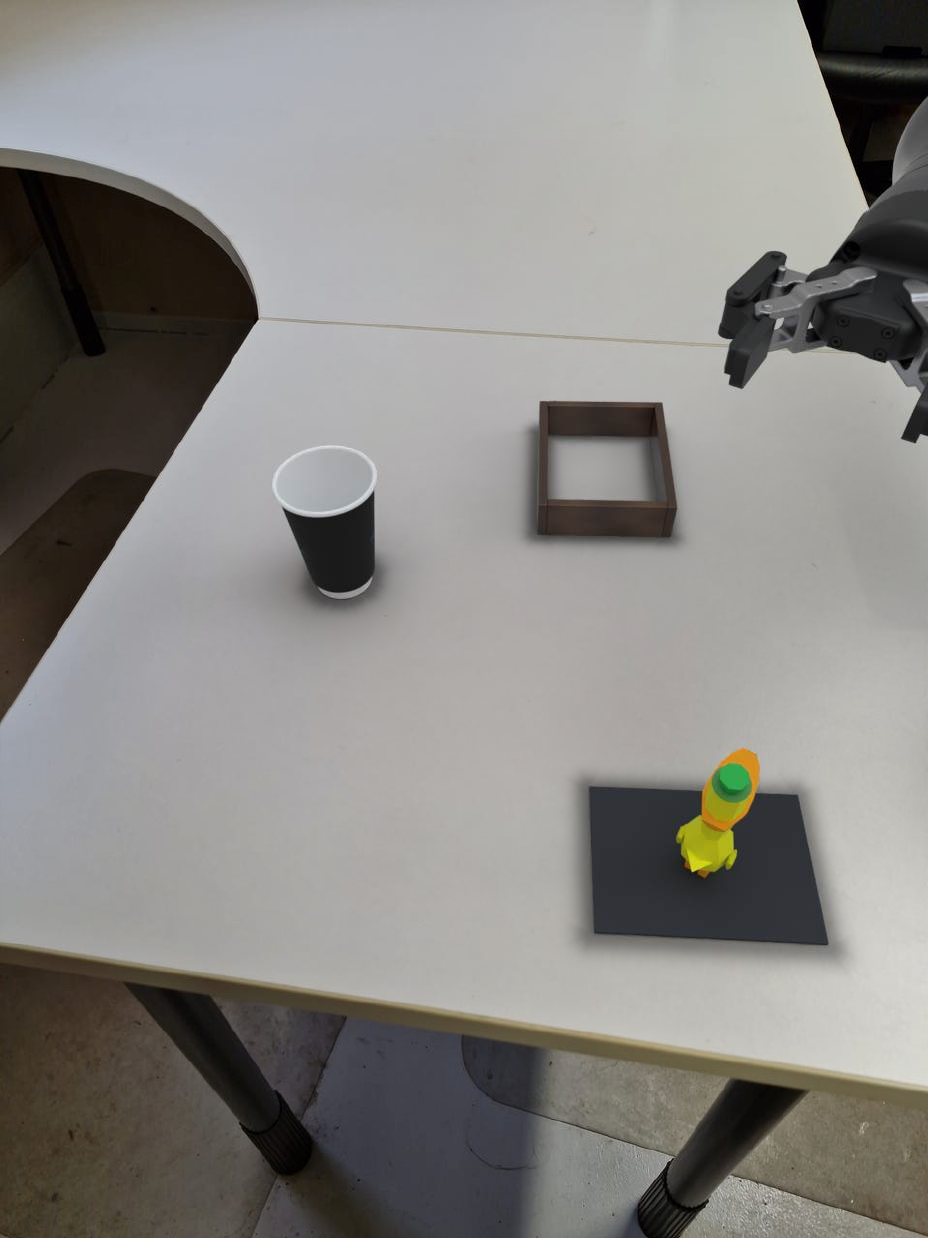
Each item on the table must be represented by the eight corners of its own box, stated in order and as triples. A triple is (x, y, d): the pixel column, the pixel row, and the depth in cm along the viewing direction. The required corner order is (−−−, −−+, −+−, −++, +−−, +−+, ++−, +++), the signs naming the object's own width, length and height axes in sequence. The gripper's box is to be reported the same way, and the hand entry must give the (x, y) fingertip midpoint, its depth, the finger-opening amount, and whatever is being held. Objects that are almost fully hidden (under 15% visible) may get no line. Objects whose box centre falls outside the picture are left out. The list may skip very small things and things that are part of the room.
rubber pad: (796, 796, 58) (798, 794, 58) (827, 945, 52) (828, 943, 51) (589, 788, 59) (589, 786, 59) (594, 933, 53) (594, 931, 52)
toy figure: (696, 804, 58) (734, 704, 48) (747, 830, 56) (796, 732, 47) (654, 886, 54) (686, 795, 45) (707, 916, 53) (751, 828, 44)
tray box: (657, 431, 84) (662, 401, 81) (671, 537, 74) (677, 507, 72) (538, 430, 84) (539, 400, 82) (536, 534, 75) (538, 504, 72)
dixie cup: (410, 572, 73) (399, 472, 64) (343, 628, 69) (322, 530, 60) (345, 531, 76) (325, 431, 68) (278, 582, 72) (248, 483, 64)
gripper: (1017, 348, 50) (946, 509, 41) (779, 285, 55) (672, 415, 47) (1084, 218, 44) (1018, 374, 36) (811, 162, 49) (697, 285, 41)
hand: (822, 397), depth 41 cm, fingers open, 8 cm apart
